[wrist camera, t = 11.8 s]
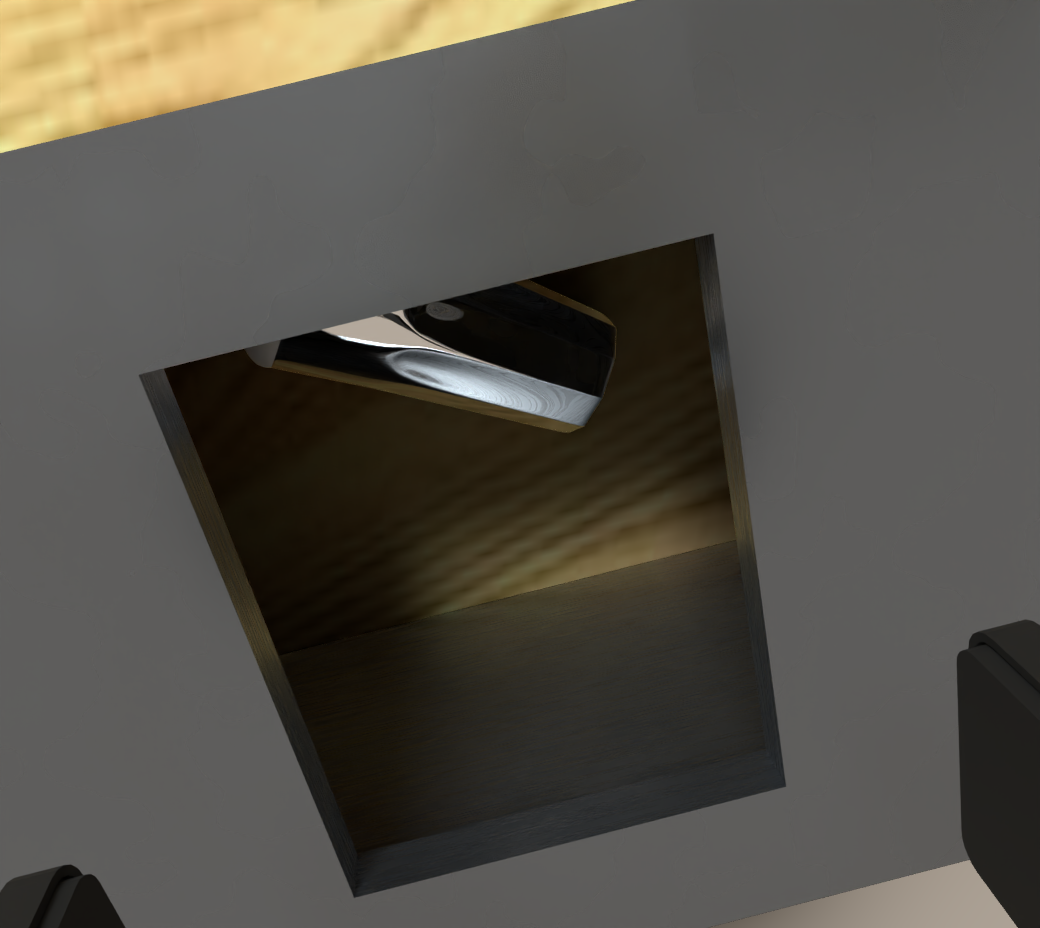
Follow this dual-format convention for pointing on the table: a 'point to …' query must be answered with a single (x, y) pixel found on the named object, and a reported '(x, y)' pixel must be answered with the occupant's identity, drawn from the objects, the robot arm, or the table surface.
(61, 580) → the box
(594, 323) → the milkshake
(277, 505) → the table surface
